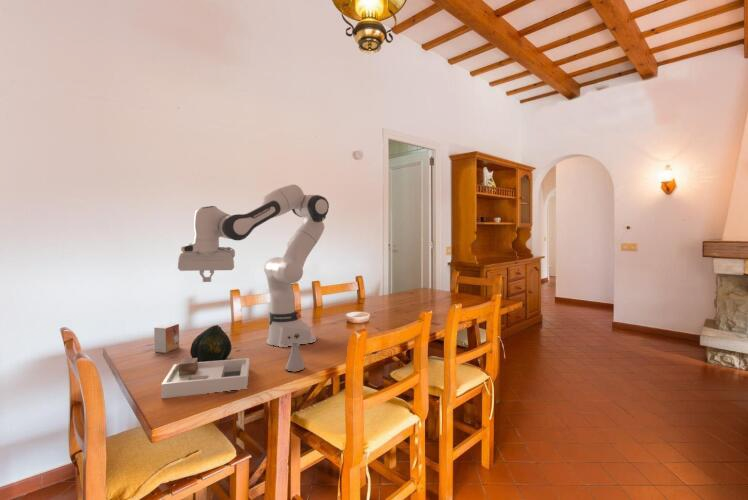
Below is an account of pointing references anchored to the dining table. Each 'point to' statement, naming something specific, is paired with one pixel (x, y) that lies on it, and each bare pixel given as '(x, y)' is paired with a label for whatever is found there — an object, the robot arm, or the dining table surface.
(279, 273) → the robot arm
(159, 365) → the dining table surface
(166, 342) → the small box
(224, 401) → the dining table surface
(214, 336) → the squash
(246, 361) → the track
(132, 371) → the dining table surface
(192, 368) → the walnut block
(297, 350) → the flask
